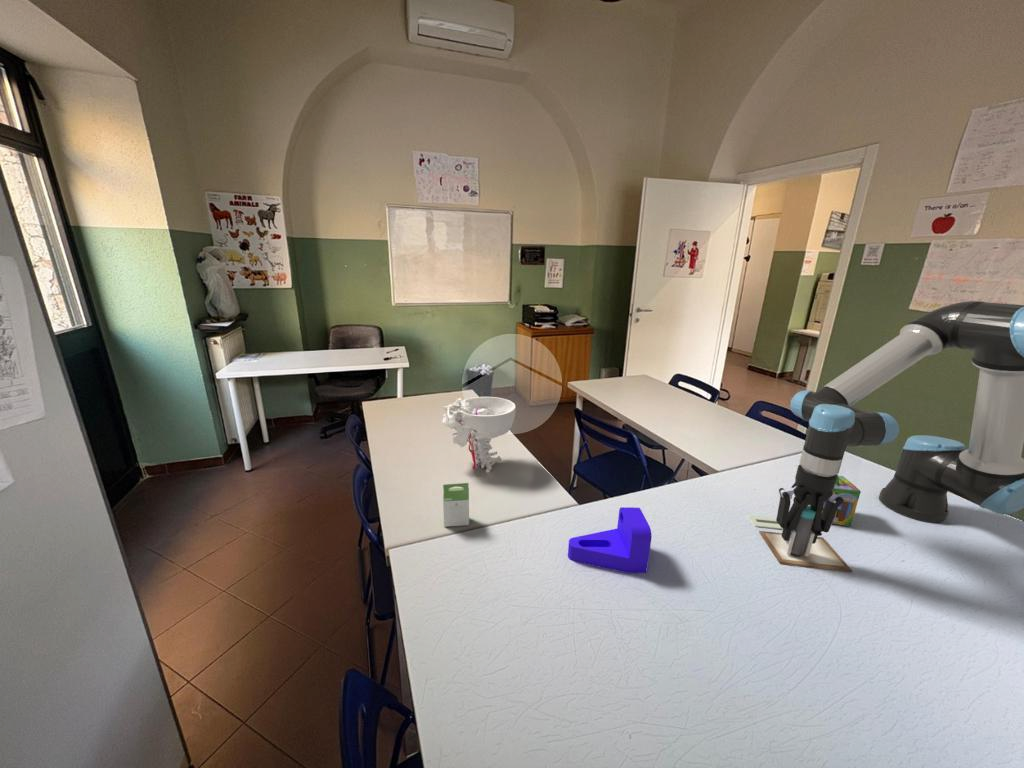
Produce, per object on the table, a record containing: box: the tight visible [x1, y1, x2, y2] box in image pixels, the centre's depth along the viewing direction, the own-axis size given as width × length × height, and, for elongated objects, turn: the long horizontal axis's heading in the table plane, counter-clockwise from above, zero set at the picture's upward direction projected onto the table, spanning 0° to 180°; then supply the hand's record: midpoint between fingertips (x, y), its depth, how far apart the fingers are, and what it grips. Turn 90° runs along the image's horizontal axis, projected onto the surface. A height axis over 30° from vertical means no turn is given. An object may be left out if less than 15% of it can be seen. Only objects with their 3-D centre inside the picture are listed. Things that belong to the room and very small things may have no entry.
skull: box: [441, 396, 517, 473], centre depth 139 cm, size 25×19×23 cm
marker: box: [790, 505, 816, 557], centre depth 100 cm, size 4×4×13 cm
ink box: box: [442, 482, 470, 528], centre depth 111 cm, size 7×4×13 cm, turn 97°
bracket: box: [567, 506, 652, 574], centre depth 99 cm, size 18×11×12 cm, turn 91°
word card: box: [747, 514, 783, 531], centre depth 115 cm, size 8×5×1 cm, turn 81°
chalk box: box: [809, 473, 861, 527], centre depth 117 cm, size 9×9×15 cm
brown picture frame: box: [758, 530, 853, 573], centre depth 104 cm, size 16×12×1 cm
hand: (794, 551), depth 102 cm, fingers closed on marker, 3 cm apart
